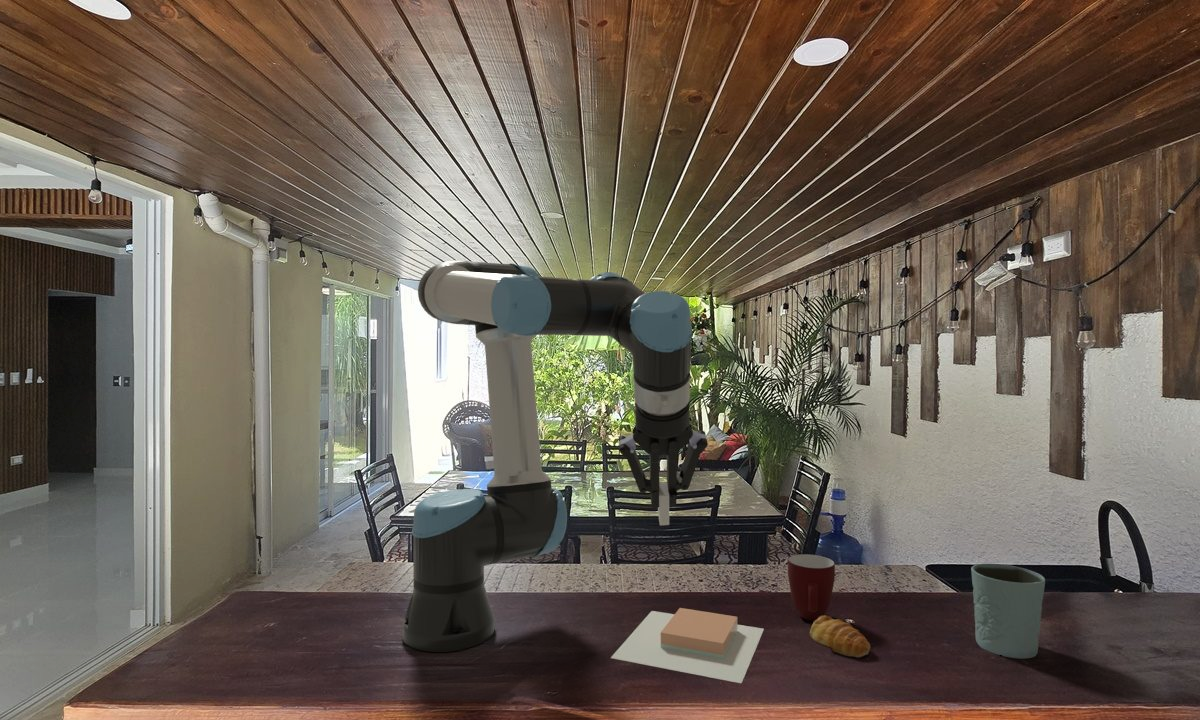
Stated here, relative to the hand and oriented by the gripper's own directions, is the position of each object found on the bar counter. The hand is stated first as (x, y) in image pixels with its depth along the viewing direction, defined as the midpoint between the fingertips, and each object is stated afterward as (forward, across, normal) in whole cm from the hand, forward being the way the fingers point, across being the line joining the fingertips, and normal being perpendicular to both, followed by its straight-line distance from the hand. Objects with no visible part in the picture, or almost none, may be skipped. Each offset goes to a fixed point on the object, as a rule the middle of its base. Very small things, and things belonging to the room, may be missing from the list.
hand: (663, 518), depth 104 cm
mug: (+27, +26, -2) cm, 38 cm away
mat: (+20, +3, -10) cm, 22 cm away
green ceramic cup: (+23, +54, -11) cm, 60 cm away
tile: (+16, +3, -12) cm, 20 cm away
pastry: (+22, +27, -10) cm, 36 cm away
